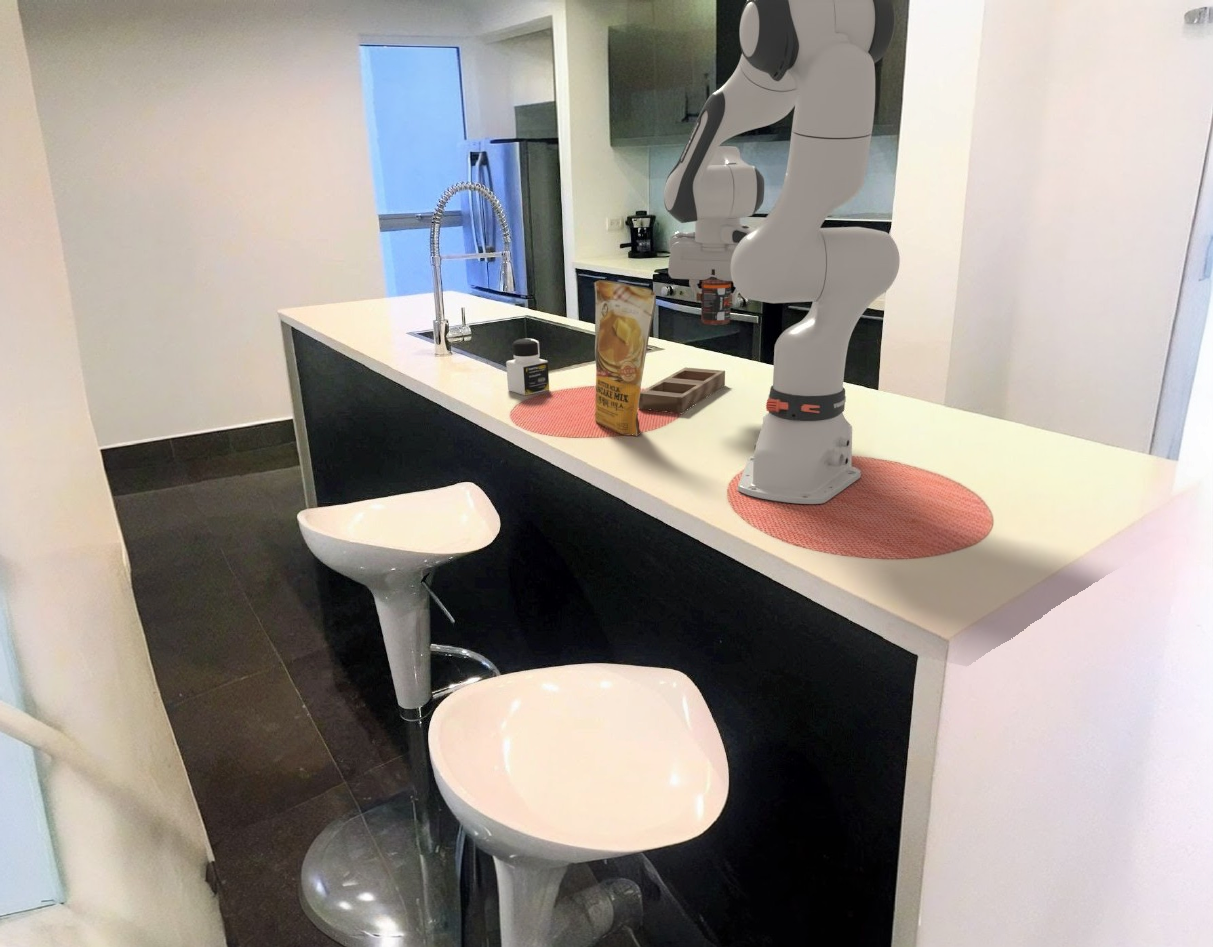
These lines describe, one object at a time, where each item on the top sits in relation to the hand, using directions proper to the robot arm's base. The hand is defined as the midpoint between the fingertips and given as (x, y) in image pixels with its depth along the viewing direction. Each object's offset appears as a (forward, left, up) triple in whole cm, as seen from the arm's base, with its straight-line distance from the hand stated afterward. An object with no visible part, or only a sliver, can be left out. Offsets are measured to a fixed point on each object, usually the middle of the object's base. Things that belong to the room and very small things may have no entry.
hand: (715, 302), depth 171 cm
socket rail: (+4, +9, -22) cm, 24 cm away
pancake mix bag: (-21, +12, -22) cm, 33 cm away
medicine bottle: (-4, +45, -22) cm, 50 cm away
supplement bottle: (0, 0, -5) cm, 5 cm away
